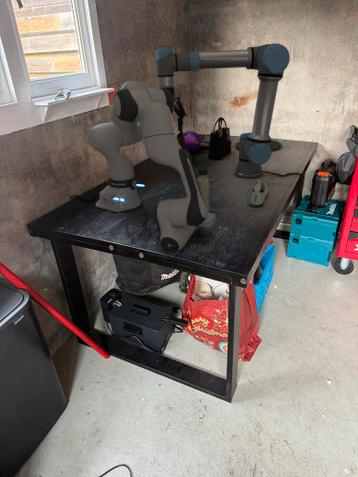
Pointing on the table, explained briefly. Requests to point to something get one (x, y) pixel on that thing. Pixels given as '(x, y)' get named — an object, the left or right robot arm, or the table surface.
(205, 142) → the pair of gloves
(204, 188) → the ridged cream cylinder
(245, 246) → the table surface
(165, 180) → the table surface
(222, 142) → the handbag
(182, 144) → the boot
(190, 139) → the decorative orb
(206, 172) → the cap
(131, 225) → the table surface
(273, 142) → the black shoe
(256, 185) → the ballet flat
